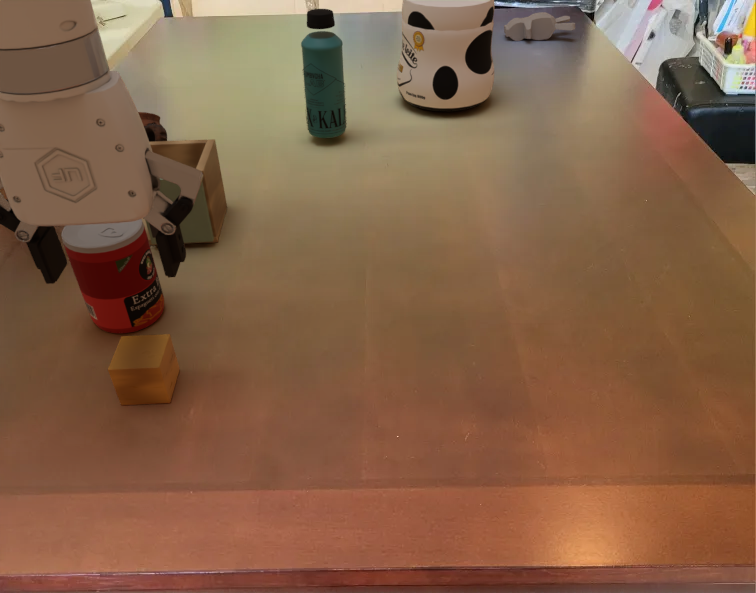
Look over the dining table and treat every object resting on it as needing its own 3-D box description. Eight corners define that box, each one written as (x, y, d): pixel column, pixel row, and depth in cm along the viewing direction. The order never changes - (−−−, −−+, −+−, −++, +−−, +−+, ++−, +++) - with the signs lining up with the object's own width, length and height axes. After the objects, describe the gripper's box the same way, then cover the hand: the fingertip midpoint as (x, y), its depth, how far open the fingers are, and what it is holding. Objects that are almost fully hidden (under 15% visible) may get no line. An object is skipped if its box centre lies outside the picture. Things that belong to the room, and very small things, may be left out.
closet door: (148, 251, 80) (130, 187, 75) (153, 241, 82) (136, 177, 77) (211, 248, 80) (197, 184, 75) (214, 238, 82) (201, 174, 77)
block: (120, 405, 61) (107, 369, 58) (133, 371, 65) (121, 335, 62) (170, 403, 61) (159, 367, 58) (180, 369, 65) (170, 333, 62)
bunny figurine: (502, 14, 152) (568, 5, 150) (502, 37, 155) (567, 28, 153) (507, 25, 144) (577, 16, 143) (508, 49, 147) (576, 40, 146)
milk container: (377, 100, 121) (375, -4, 110) (443, 78, 130) (447, -21, 119) (444, 128, 110) (449, 15, 100) (511, 101, 119) (523, -5, 108)
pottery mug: (94, 167, 102) (91, 113, 101) (144, 171, 110) (141, 121, 109) (146, 163, 96) (143, 105, 95) (195, 167, 104) (192, 114, 103)
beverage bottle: (314, 130, 111) (303, 3, 99) (352, 132, 110) (346, 5, 98) (302, 146, 106) (290, 15, 94) (342, 149, 105) (335, 16, 92)
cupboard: (90, 247, 83) (65, 175, 77) (110, 212, 90) (89, 143, 84) (217, 242, 83) (203, 170, 77) (227, 207, 90) (215, 139, 84)
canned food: (147, 339, 68) (120, 250, 62) (77, 331, 70) (43, 244, 63) (178, 295, 74) (156, 210, 68) (113, 289, 76) (85, 205, 69)
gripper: (-114, 87, 41) (-8, 304, 51) (164, 74, 41) (213, 292, 52) (-56, 51, 47) (28, 252, 57) (186, 40, 47) (227, 241, 58)
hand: (116, 271), depth 54 cm, fingers open, 9 cm apart
